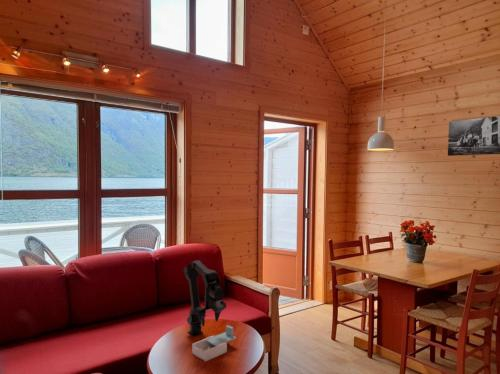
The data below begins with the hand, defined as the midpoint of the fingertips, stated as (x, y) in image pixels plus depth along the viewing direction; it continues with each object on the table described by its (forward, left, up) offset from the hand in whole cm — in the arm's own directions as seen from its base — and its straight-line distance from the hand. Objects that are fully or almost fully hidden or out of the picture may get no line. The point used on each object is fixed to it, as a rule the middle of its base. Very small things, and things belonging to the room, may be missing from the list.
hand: (210, 323), depth 189 cm
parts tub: (+6, -5, -12) cm, 14 cm away
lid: (+6, +3, -8) cm, 10 cm away
